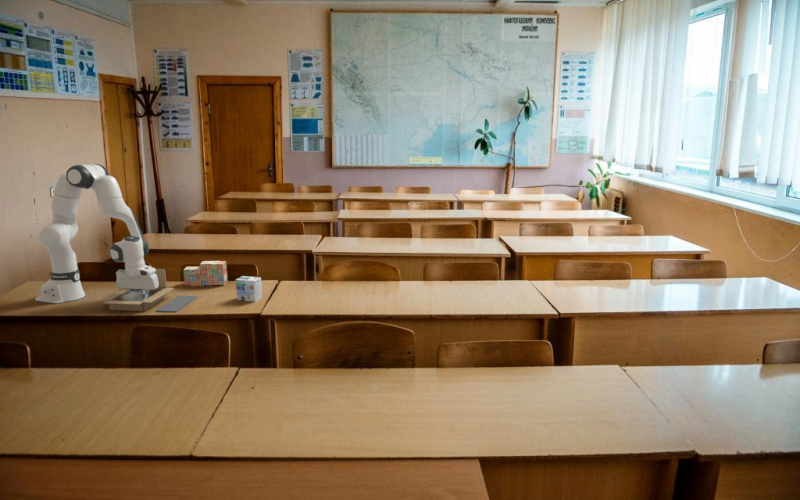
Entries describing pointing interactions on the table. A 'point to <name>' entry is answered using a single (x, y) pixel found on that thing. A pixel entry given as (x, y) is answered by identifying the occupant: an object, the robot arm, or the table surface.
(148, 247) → the robot arm
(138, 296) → the box
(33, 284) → the table surface
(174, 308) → the mat
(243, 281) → the light bulb box
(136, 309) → the carton
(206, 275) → the stack of blocks
